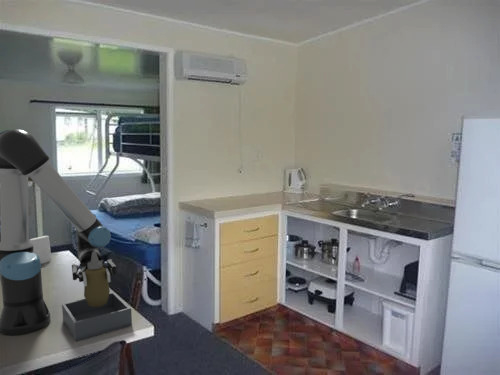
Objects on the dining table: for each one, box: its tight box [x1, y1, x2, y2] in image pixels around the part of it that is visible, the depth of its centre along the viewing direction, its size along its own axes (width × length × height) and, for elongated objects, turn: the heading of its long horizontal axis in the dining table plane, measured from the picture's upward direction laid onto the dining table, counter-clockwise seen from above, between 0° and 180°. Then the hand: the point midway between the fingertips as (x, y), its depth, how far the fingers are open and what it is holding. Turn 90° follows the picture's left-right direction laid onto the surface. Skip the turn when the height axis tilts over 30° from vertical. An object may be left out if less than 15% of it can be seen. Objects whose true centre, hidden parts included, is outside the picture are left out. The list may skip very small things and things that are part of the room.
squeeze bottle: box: [83, 251, 111, 307], centre depth 137 cm, size 8×8×18 cm
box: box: [61, 291, 133, 342], centre depth 138 cm, size 18×18×6 cm
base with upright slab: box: [29, 235, 52, 264], centre depth 207 cm, size 9×9×12 cm
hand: (97, 280), depth 132 cm, fingers closed on squeeze bottle, 6 cm apart
